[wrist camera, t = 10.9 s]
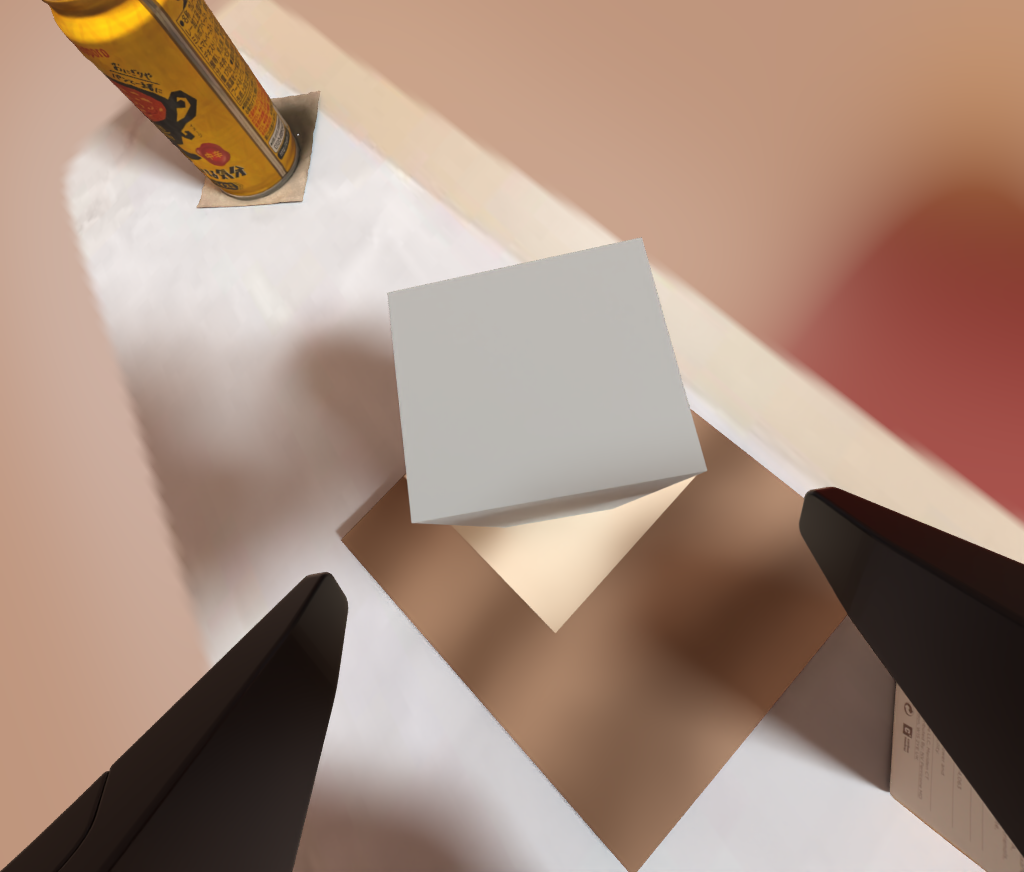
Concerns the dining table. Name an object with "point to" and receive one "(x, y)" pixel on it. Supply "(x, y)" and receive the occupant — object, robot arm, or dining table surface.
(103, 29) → the condiment
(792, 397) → the dining table surface
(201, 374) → the dining table surface
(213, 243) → the dining table surface
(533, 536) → the brown square board
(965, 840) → the small box
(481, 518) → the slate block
